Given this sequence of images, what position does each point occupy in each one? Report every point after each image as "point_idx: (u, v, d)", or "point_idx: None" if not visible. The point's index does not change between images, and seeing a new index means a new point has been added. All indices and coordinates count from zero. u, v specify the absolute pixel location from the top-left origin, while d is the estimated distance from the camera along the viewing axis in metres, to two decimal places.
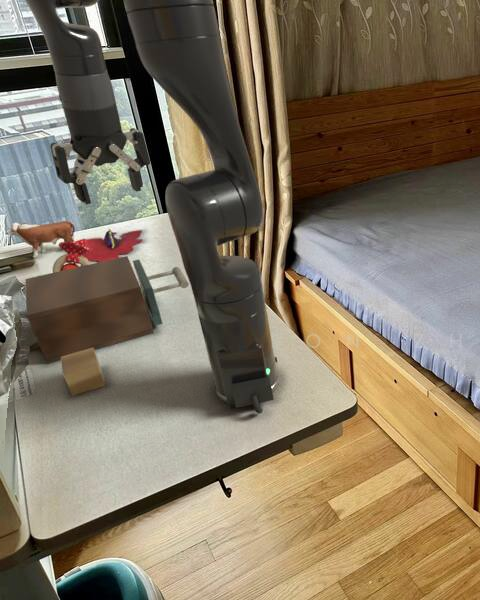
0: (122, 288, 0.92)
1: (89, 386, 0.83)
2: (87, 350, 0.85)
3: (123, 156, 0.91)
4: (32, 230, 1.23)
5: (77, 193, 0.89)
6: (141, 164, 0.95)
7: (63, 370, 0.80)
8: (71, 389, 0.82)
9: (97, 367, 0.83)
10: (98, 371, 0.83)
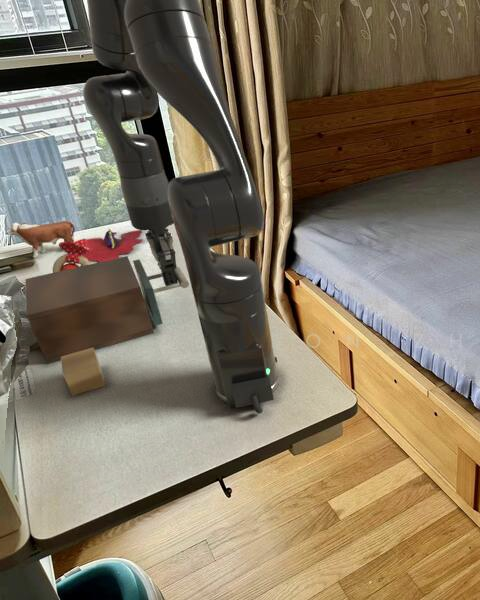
0: (122, 288, 0.92)
1: (89, 386, 0.83)
2: (87, 350, 0.85)
3: None
4: (32, 230, 1.23)
5: (173, 278, 1.01)
6: None
7: (63, 370, 0.80)
8: (71, 389, 0.82)
9: (97, 367, 0.83)
10: (98, 371, 0.83)
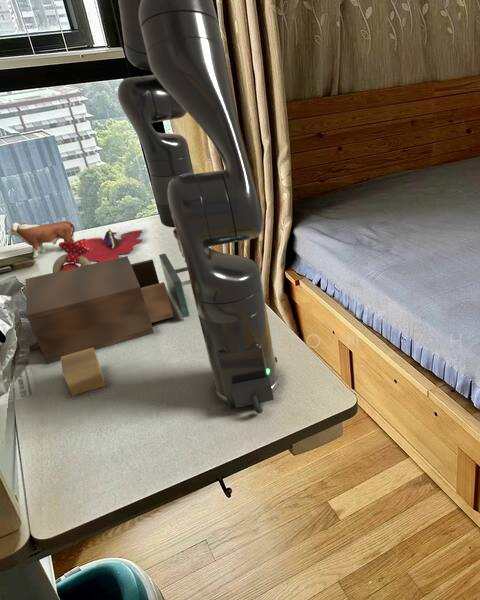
0: (122, 288, 0.92)
1: (89, 386, 0.83)
2: (87, 350, 0.85)
3: None
4: (32, 230, 1.23)
5: None
6: None
7: (63, 370, 0.80)
8: (71, 389, 0.82)
9: (97, 367, 0.83)
10: (98, 371, 0.83)
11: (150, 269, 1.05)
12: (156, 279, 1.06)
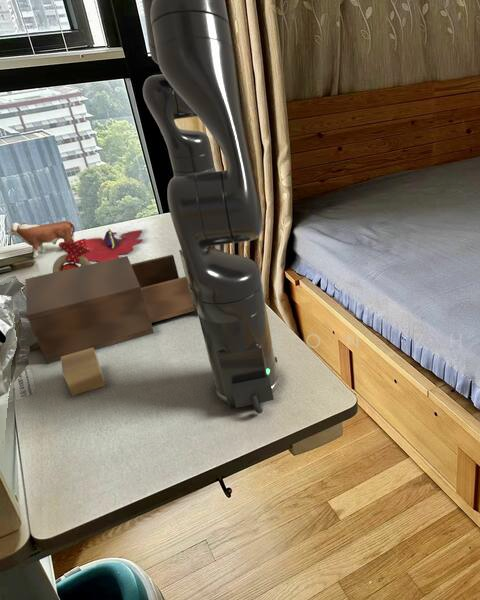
0: (122, 288, 0.92)
1: (89, 386, 0.83)
2: (87, 350, 0.85)
3: None
4: (32, 230, 1.23)
5: None
6: None
7: (63, 370, 0.80)
8: (71, 389, 0.82)
9: (97, 367, 0.83)
10: (98, 371, 0.83)
11: (170, 264, 1.06)
12: (176, 274, 1.08)
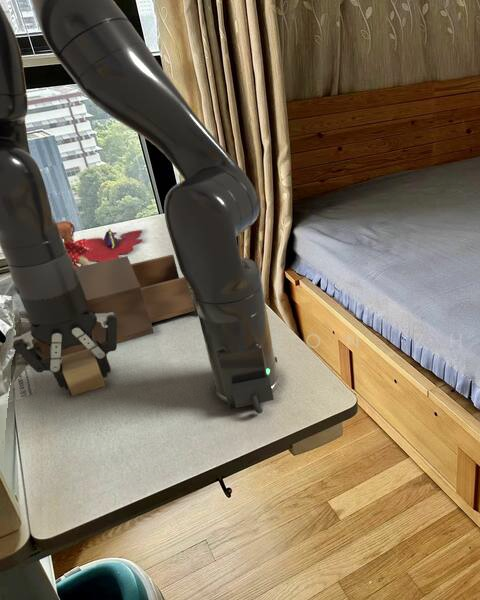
0: (122, 288, 0.92)
1: (89, 386, 0.83)
2: (87, 350, 0.85)
3: None
4: None
5: None
6: None
7: (63, 370, 0.80)
8: (71, 389, 0.82)
9: (97, 367, 0.83)
10: (98, 371, 0.83)
11: (171, 264, 1.06)
12: (176, 274, 1.08)
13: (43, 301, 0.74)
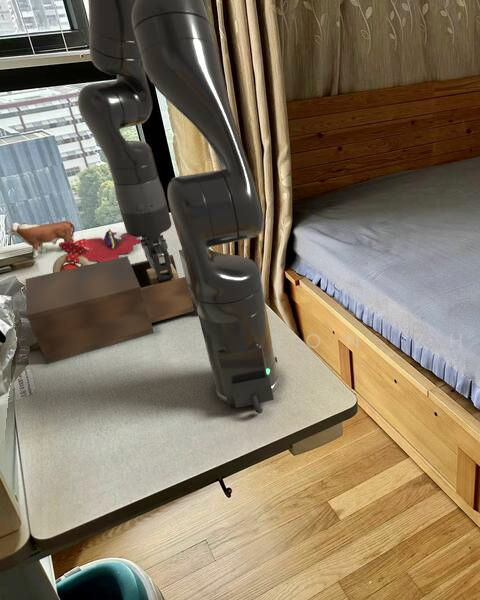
0: (122, 288, 0.92)
1: None
2: (173, 271, 1.00)
3: None
4: (32, 230, 1.23)
5: None
6: None
7: (148, 269, 1.01)
8: None
9: (152, 283, 0.98)
10: None
11: None
12: None
13: None
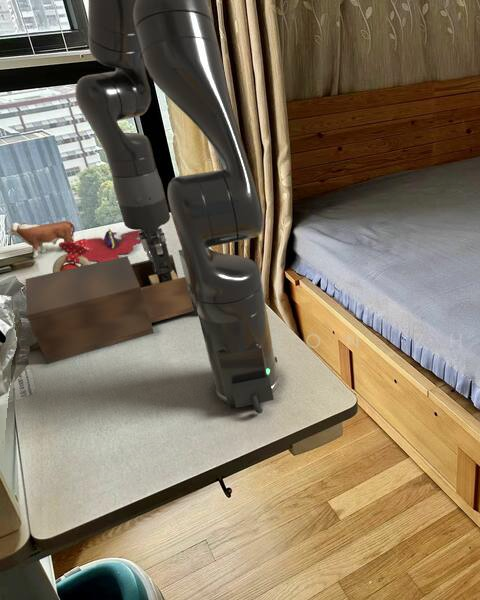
0: (122, 288, 0.92)
1: None
2: (175, 277, 1.01)
3: None
4: (32, 230, 1.23)
5: None
6: None
7: None
8: None
9: None
10: None
11: None
12: None
13: None
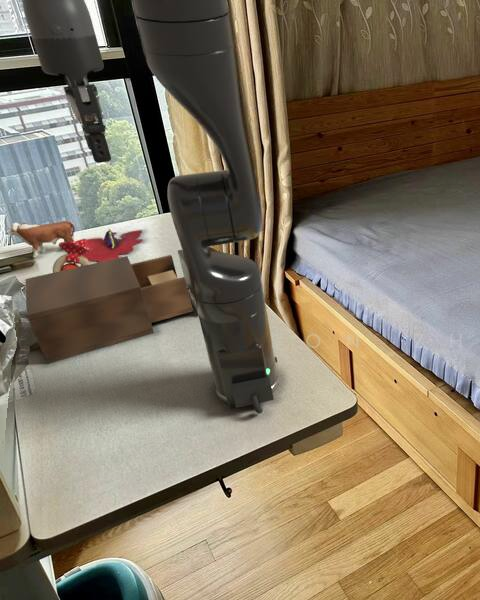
0: (122, 288, 0.92)
1: None
2: (174, 278, 1.01)
3: None
4: (32, 230, 1.23)
5: (103, 147, 0.76)
6: None
7: (149, 276, 1.02)
8: None
9: None
10: None
11: (169, 264, 1.06)
12: (175, 274, 1.08)
13: None
